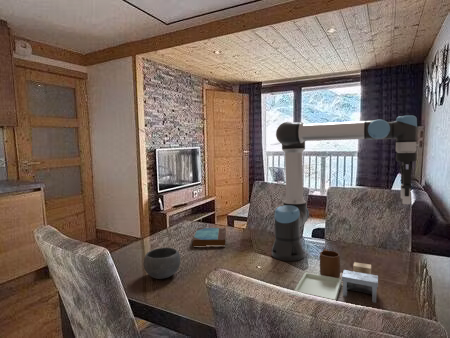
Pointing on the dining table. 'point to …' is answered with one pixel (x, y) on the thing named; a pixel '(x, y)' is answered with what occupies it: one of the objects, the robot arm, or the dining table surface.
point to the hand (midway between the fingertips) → (405, 201)
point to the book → (209, 236)
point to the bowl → (162, 262)
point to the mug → (330, 263)
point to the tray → (319, 285)
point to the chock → (362, 268)
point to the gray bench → (360, 283)
